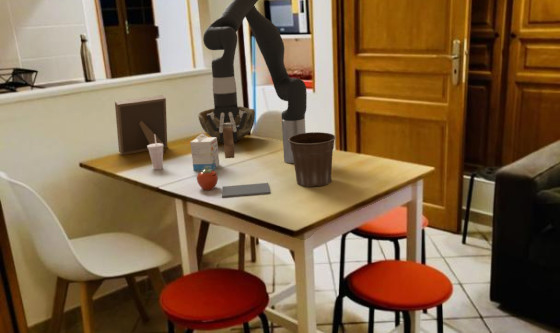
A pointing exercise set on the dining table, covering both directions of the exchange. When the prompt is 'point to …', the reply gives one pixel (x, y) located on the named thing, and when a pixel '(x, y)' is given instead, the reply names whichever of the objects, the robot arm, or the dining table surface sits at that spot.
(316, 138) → the plant pot
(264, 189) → the mat
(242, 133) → the bowl
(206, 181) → the tomato
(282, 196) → the dining table surface
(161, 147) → the smoothie
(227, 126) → the walnut slab
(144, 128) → the photo frame
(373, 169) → the dining table surface
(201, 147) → the milk carton
